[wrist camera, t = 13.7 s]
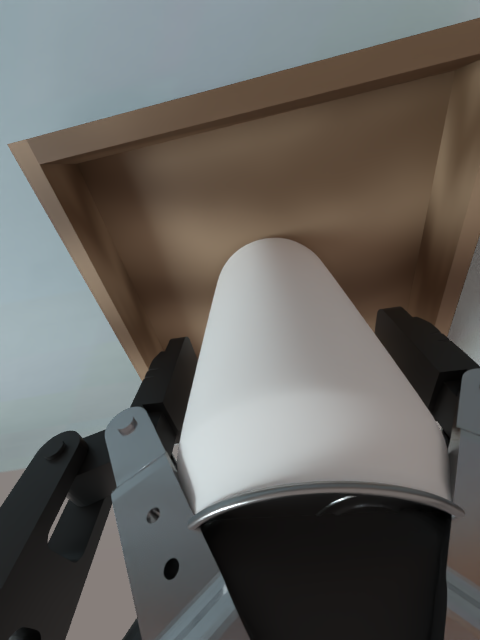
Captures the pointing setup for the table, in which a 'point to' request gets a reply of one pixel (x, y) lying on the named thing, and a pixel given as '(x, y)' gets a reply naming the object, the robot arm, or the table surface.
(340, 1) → the table surface
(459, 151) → the tray
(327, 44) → the table surface
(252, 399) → the can
